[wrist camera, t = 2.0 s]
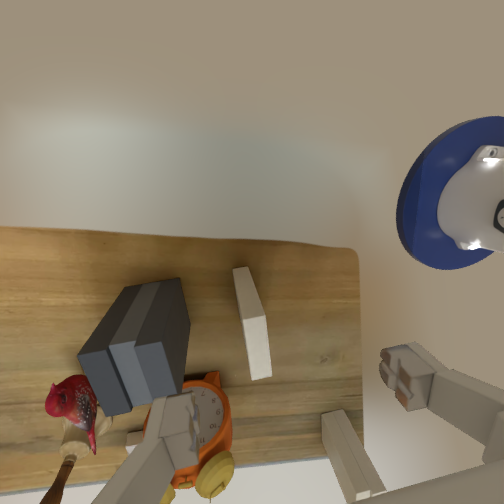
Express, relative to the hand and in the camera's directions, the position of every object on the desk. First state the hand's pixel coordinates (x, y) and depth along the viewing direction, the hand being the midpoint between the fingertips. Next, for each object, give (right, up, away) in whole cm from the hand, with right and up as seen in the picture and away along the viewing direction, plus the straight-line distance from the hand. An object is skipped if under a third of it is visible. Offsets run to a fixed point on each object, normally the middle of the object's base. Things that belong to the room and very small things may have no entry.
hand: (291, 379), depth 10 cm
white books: (+17, -35, +47) cm, 61 cm away
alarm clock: (-13, -20, +36) cm, 43 cm away
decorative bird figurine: (-29, -18, +33) cm, 48 cm away
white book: (-3, -1, +31) cm, 31 cm away
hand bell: (-32, -26, +35) cm, 54 cm away
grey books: (-17, -4, +30) cm, 34 cm away
